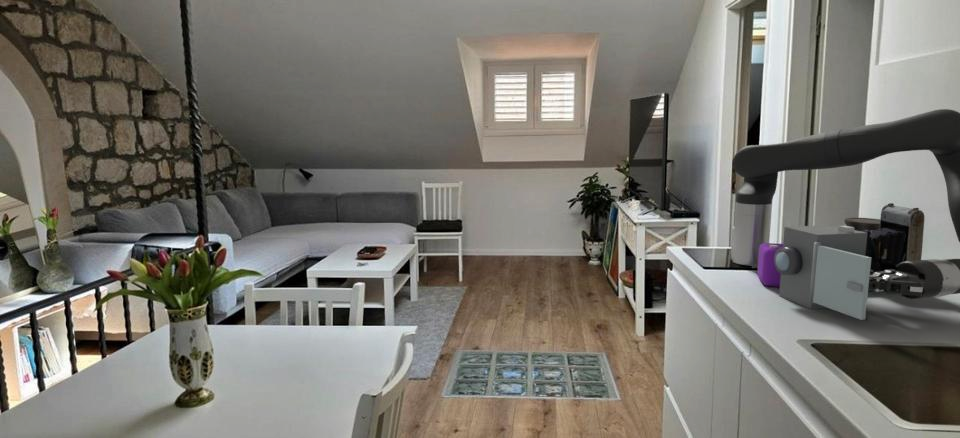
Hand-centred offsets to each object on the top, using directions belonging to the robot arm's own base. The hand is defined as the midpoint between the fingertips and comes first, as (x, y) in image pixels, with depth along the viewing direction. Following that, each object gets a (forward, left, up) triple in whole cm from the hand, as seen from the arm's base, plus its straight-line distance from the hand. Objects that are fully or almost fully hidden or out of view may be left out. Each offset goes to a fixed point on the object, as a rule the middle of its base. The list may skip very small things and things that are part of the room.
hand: (854, 284), depth 113 cm
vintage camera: (-22, +26, -8) cm, 35 cm away
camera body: (-15, +4, -8) cm, 17 cm away
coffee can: (-35, +35, -8) cm, 51 cm away
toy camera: (-31, +7, -8) cm, 33 cm away
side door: (-3, -1, -6) cm, 7 cm away
